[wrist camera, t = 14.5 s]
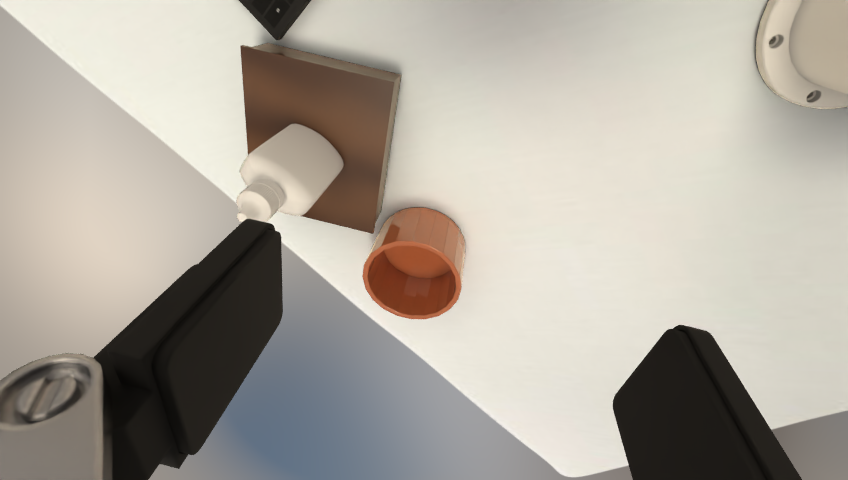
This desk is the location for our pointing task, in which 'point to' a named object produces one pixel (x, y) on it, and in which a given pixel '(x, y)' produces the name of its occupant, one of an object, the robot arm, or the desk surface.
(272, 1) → the calculator
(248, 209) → the eye dropper bottle
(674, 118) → the desk surface
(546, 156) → the desk surface
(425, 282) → the pencil cup
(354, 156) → the walnut box
